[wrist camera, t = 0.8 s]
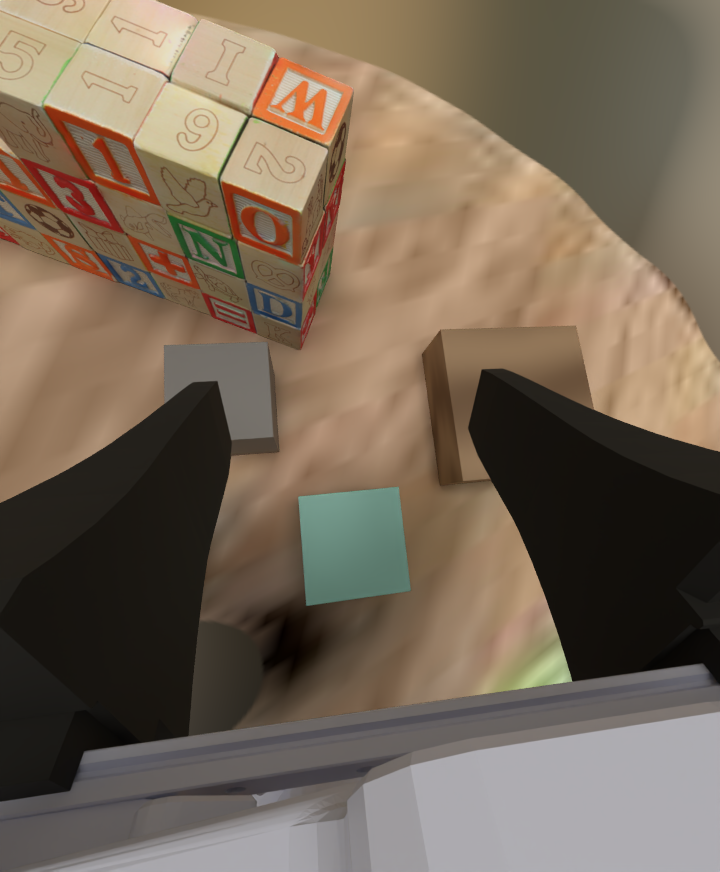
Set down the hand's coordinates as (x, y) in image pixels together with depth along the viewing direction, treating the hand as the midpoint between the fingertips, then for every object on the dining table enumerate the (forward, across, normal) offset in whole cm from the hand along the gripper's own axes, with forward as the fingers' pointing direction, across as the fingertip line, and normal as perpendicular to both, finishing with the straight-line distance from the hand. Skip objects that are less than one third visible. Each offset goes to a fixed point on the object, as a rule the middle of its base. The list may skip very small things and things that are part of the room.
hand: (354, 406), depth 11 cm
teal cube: (+6, 0, +13) cm, 14 cm away
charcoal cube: (+12, +6, +8) cm, 15 cm away
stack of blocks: (+20, +10, 0) cm, 22 cm away
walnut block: (+12, -11, +9) cm, 18 cm away
